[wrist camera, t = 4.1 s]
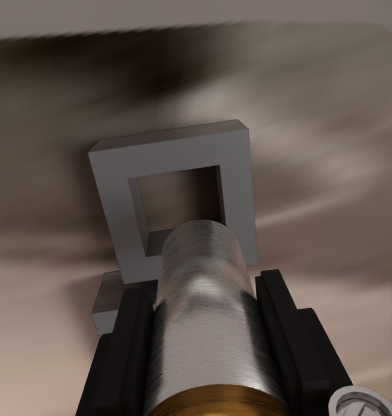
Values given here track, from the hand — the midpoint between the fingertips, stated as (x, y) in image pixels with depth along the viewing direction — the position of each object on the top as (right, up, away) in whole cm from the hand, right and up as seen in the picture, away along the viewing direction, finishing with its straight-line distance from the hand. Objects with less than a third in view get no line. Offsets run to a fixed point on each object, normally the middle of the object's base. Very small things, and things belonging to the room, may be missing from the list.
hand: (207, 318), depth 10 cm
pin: (0, +1, +3) cm, 4 cm away
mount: (-1, +4, +10) cm, 11 cm away
